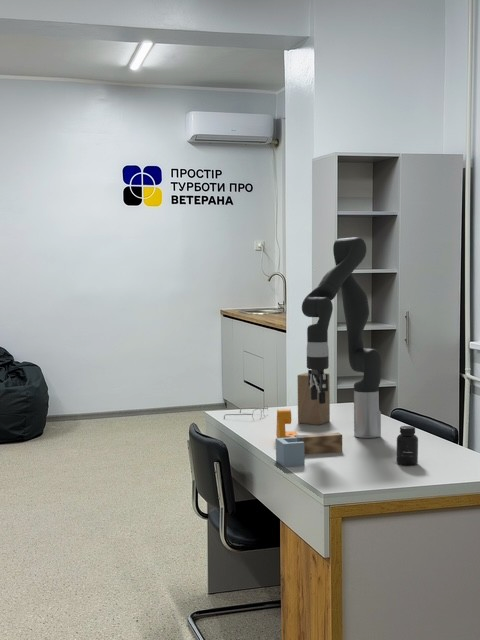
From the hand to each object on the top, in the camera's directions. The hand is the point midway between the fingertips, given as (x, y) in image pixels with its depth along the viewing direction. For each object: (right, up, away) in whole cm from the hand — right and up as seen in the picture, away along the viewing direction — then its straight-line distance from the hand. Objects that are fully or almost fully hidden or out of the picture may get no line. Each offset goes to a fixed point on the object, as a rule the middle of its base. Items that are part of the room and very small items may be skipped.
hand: (317, 401), depth 281 cm
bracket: (-9, -17, +19) cm, 27 cm away
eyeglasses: (-24, -14, +70) cm, 75 cm away
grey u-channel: (-10, -19, -14) cm, 26 cm away
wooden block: (+4, -14, +55) cm, 57 cm away
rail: (0, -18, +1) cm, 18 cm away
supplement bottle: (+27, -19, -17) cm, 37 cm away
